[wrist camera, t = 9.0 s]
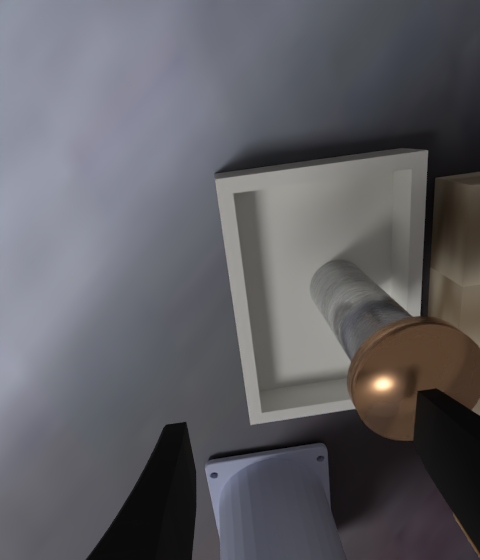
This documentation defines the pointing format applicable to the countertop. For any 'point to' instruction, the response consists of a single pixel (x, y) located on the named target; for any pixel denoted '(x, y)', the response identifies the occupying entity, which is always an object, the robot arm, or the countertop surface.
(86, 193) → the countertop surface
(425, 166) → the tray
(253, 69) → the countertop surface
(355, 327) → the pin
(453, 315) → the hitch block
